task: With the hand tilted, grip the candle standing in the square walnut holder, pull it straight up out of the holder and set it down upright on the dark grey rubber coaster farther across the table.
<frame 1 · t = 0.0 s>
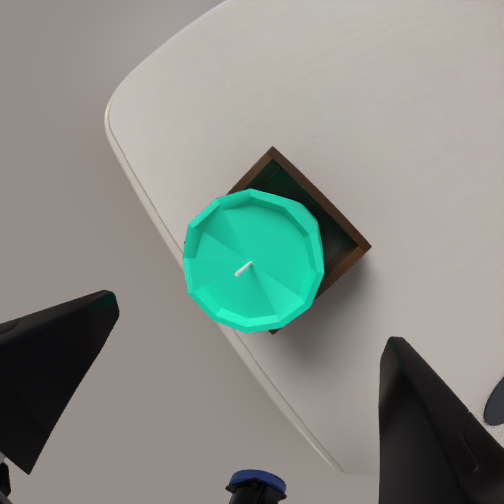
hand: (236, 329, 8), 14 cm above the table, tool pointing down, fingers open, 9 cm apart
candle: (282, 237, 22), resting in holder
holder: (281, 237, 21), on the table
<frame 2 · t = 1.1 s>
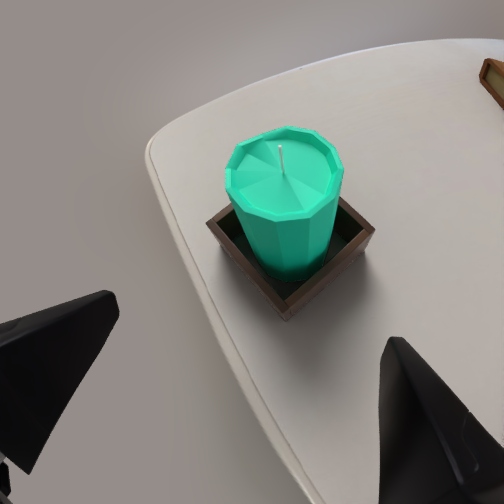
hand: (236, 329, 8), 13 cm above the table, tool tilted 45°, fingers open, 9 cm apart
candle: (291, 247, 23), resting in holder
holder: (291, 246, 23), on the table
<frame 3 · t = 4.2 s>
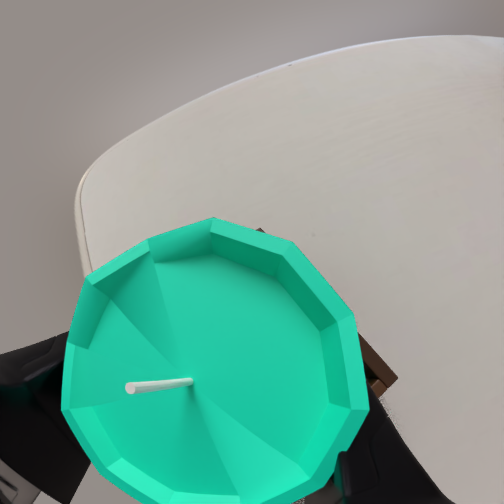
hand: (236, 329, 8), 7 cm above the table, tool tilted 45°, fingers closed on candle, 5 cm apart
candle: (258, 368, 14), resting in holder, touching gripper
holder: (257, 369, 14), on the table
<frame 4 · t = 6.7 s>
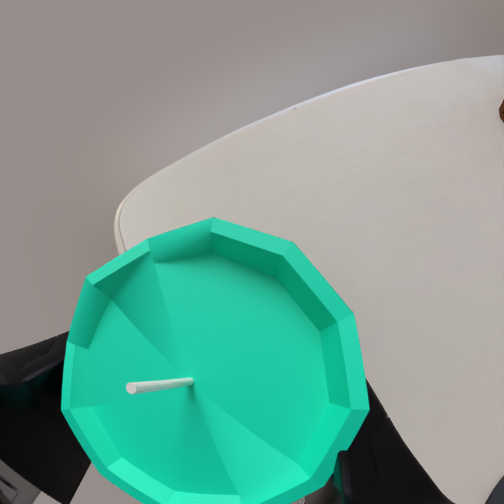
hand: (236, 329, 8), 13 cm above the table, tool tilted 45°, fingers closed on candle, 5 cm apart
candle: (258, 368, 14), point 6 cm above the table, touching gripper
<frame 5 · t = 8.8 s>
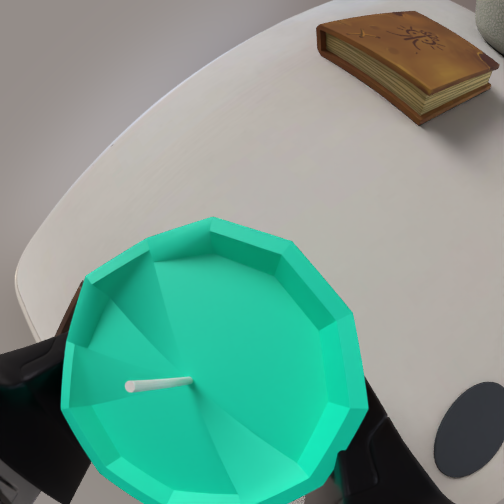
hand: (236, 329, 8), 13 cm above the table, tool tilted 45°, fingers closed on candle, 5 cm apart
diary: (413, 67, 30), on the table
candle: (258, 368, 14), point 6 cm above the table, touching gripper
coaster: (475, 431, 14), on the table
planter: (502, 50, 32), on the table
holder: (117, 354, 22), on the table
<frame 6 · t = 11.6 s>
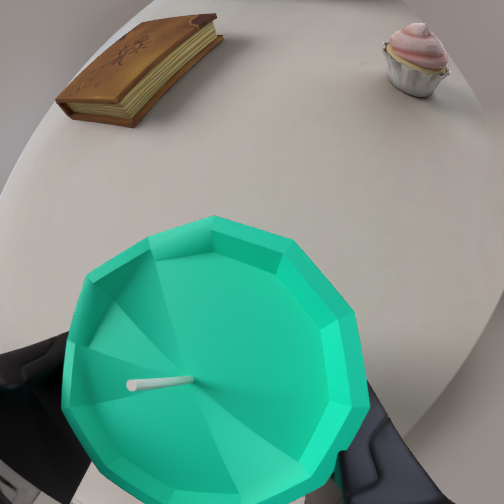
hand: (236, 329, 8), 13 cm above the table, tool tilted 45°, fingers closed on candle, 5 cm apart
diary: (142, 75, 38), on the table
candle: (258, 367, 14), point 6 cm above the table, touching gripper
cupcake: (410, 85, 28), on the table
when the fingers open (7 cm above the table, at t = 13.7 s): candle stays where it is, resting on coaster.
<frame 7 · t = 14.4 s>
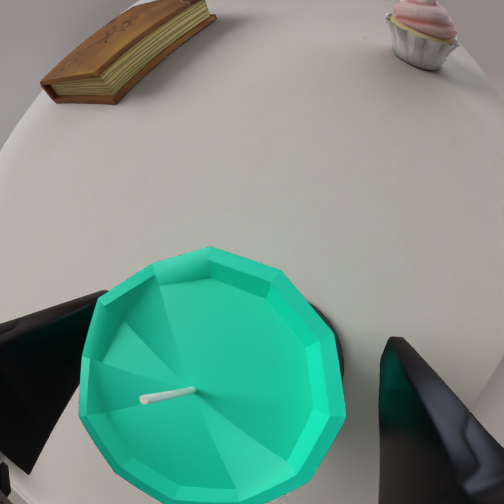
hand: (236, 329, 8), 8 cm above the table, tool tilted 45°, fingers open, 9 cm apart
diary: (130, 56, 33), on the table
candle: (259, 372, 15), resting on coaster
coaster: (261, 368, 15), on the table
cupcake: (417, 59, 24), on the table
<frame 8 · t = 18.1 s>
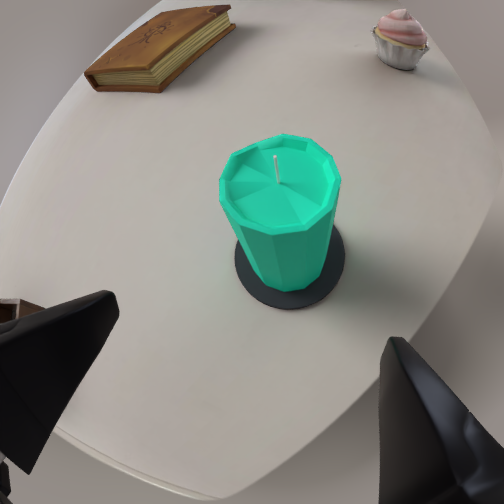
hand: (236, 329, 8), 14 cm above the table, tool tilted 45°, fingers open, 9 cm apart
diary: (164, 55, 42), on the table
candle: (288, 256, 23), resting on coaster
coaster: (289, 254, 23), on the table
cupcake: (397, 61, 32), on the table
holder: (23, 341, 24), on the table
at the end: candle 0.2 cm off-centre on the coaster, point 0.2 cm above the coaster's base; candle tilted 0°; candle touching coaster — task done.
